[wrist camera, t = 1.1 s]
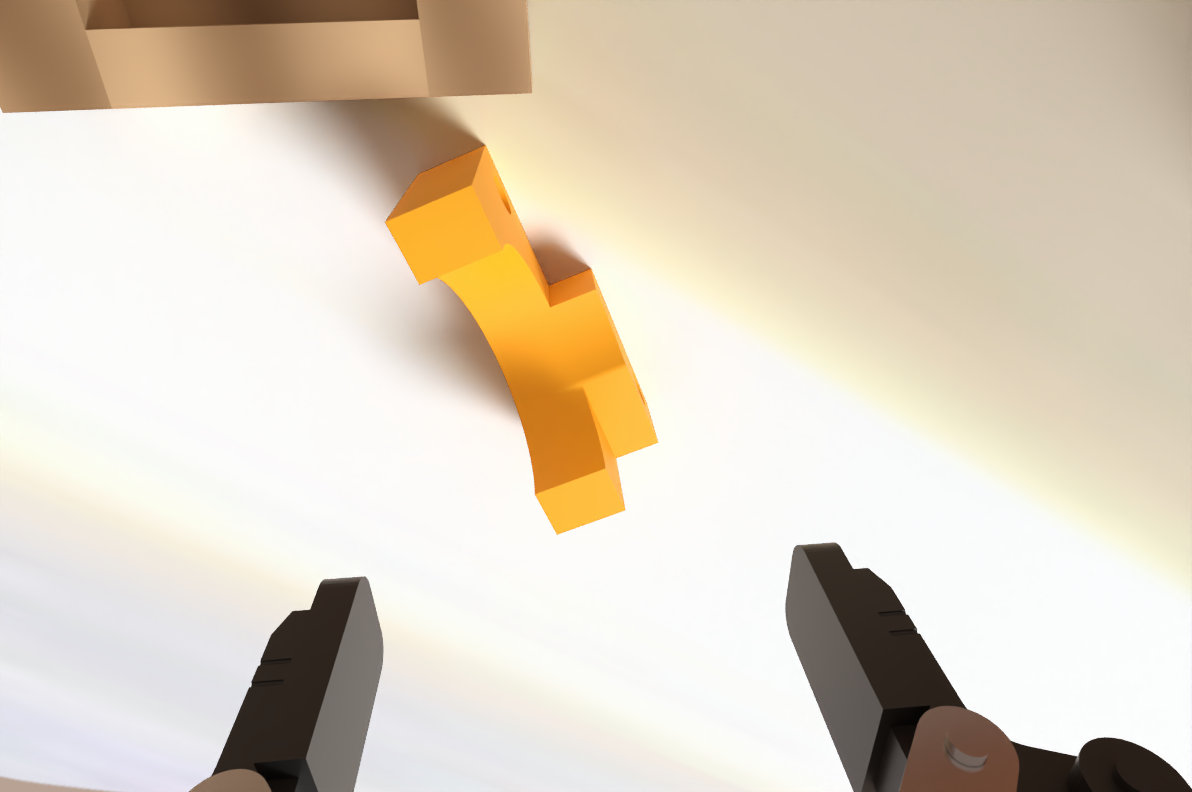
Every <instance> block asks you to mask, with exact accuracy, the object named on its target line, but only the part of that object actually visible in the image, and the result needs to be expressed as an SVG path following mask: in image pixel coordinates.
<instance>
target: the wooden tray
mask: <svg viewBox="0 0 1192 792" xmlns="http://www.w3.org/2000/svg"><path fill="white" fill-rule="evenodd" d="M522 93H532V74H531V59H530V44H529V28H528V13H527V0H0V107H1V110H2V112H3V113H12V112H39V111H66V110H92V109H119V108H146V107H173V106H200V105H226V104H253V103H280V102H307V101H334V100H361V99H387V98H414V97H441V96H468V95H495V94H522Z"/></svg>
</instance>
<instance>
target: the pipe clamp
mask: <svg viewBox="0 0 1192 792" xmlns="http://www.w3.org/2000/svg"><path fill="white" fill-rule="evenodd" d="M385 223H386V225H387V227H388V228H389V230H390V232H391V234H392V236H393V237H394V239H395V241H396V243H397V245H398V247H399V248H400V250H401V252H402V254H403V256H404V257H405V259H406V261H407V263H408V265H409V267H410V268H411V270H412V272H413V274H414V276H415V277H416V279H417V281H418V283H419V285H420V284H422V283H425V282H427V281H430V280H432V279H435V278H439V279H440V280H442V281H444V282H445V283H446V284H447V285H448V286H449V287H450V288H452V289H453V290H454V292H455V293H456V294H457V295H458V296H459V297H460V299H461V300H462V301H463V302H464V304H465V305H466V306H467V308H468V309H469V311H470V312H471V314H472V315H473V317H474V318H475V320H476V321H477V323H478V325H479V326H480V328H481V330H482V332H483V333H484V335H485V337H486V339H487V341H488V343H489V345H490V346H491V348H492V350H493V352H494V354H495V357H496V359H497V361H498V363H499V365H500V367H501V369H502V372H503V374H504V376H505V379H506V381H507V384H508V386H509V389H510V391H511V394H512V396H513V399H514V402H515V405H516V408H517V410H518V413H519V416H520V420H521V423H522V426H523V429H524V433H525V436H526V440H527V444H528V448H529V453H530V457H531V463H532V468H533V475H534V485H535V495H536V497H537V499H538V501H539V503H540V504H541V506H542V508H543V510H544V512H545V514H546V515H547V517H548V519H549V521H550V523H551V524H552V526H553V528H554V530H555V532H556V534H557V535H558V534H560V533H563V532H566V531H569V530H571V529H574V528H577V527H580V526H583V525H585V524H588V523H591V522H594V521H597V520H599V519H602V518H605V517H608V516H610V515H613V514H616V513H619V512H622V511H624V510H625V505H624V500H623V494H622V489H621V483H620V478H619V472H618V467H617V462H616V458H618V457H620V456H623V455H626V454H629V453H631V452H634V451H637V450H639V449H642V448H645V447H648V446H650V445H653V444H656V443H658V440H657V437H656V433H655V430H654V426H653V423H652V419H651V416H650V413H649V409H648V406H647V403H646V400H645V398H644V395H643V393H642V390H641V388H640V386H639V383H638V381H637V378H636V376H635V373H634V371H633V369H632V366H631V364H630V361H629V359H628V356H627V354H626V352H625V349H624V347H623V344H622V342H621V339H620V337H619V335H618V332H617V330H616V327H615V325H614V322H613V320H612V318H611V315H610V313H609V310H608V308H607V305H606V303H605V301H604V298H603V296H602V293H601V291H600V288H599V286H598V284H597V281H596V279H595V276H594V274H593V271H592V269H589V270H586V271H584V272H581V273H579V274H576V275H574V276H571V277H569V278H566V279H564V280H562V281H559V282H557V283H554V284H552V285H548V283H547V280H546V278H545V276H544V274H543V271H542V269H541V267H540V265H539V263H538V260H537V258H536V256H535V254H534V251H533V249H532V247H531V245H530V243H529V240H528V238H527V236H526V234H525V231H524V229H523V227H522V225H521V223H520V220H519V218H518V216H517V214H516V211H515V209H514V207H513V205H512V203H511V200H510V198H509V196H508V194H507V191H506V189H505V187H504V185H503V183H502V180H501V178H500V176H499V174H498V171H497V169H496V167H495V165H494V163H493V160H492V158H491V156H490V154H489V151H488V149H487V147H486V145H485V146H482V147H480V148H478V149H475V150H473V151H471V152H468V153H466V154H464V155H461V156H459V157H457V158H455V159H452V160H450V161H448V162H445V163H443V164H441V165H438V166H436V167H434V168H431V169H429V170H427V171H424V172H422V173H420V174H418V175H417V177H416V178H415V180H414V181H413V182H412V184H411V185H410V187H409V188H408V190H407V191H406V193H405V194H404V195H403V197H402V198H401V200H400V201H399V203H398V204H397V205H396V207H395V208H394V210H393V211H392V213H391V214H390V216H389V217H388V218H387V220H386V221H385Z"/></svg>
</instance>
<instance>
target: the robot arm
mask: <svg viewBox="0 0 1192 792" xmlns="http://www.w3.org/2000/svg"><path fill="white" fill-rule="evenodd" d="M785 609H786V620H787V626H788V630H789V634H790V637H791V639H792V642H793V644H794V647H795V649H796V652H797V654H798V657H799V659H800V661H801V664H802V666H803V669H804V671H805V674H806V676H807V679H808V681H809V683H810V686H811V688H812V691H813V693H814V696H815V698H816V701H817V703H818V705H819V708H820V710H821V713H822V715H823V718H824V720H825V723H826V725H827V727H828V730H829V732H830V735H831V737H832V740H833V742H834V745H835V747H836V749H837V752H838V754H839V757H840V759H841V762H842V764H843V767H844V769H845V771H846V774H847V776H848V779H849V781H850V784H851V786H852V789H853V791H854V792H1192V789H1191V787H1190V786H1189V785H1188V784H1187V782H1186V781H1185V780H1184V779H1183V778H1182V776H1181V775H1180V774H1179V773H1178V772H1177V771H1176V770H1175V769H1174V768H1173V767H1172V766H1171V765H1170V764H1168V763H1167V762H1166V761H1164V760H1163V759H1162V758H1160V757H1159V756H1157V755H1156V754H1154V753H1153V752H1151V751H1149V750H1147V749H1145V748H1143V747H1142V746H1139V745H1137V744H1134V743H1132V742H1129V741H1125V740H1122V739H1116V738H1105V737H1104V738H1097V739H1094V740H1091V741H1089V742H1087V743H1086V744H1085V745H1084V746H1083V747H1082V749H1081V751H1080V753H1079V755H1078V757H1077V756H1072V755H1067V754H1063V753H1058V752H1053V751H1048V750H1043V749H1038V748H1034V747H1029V746H1025V745H1021V744H1018V743H1015V742H1012V741H1010V740H1009V738H1008V737H1007V736H1006V735H1005V733H1004V732H1003V731H1002V730H1001V729H999V728H998V727H997V726H996V725H995V724H994V723H992V722H991V721H990V720H988V719H987V718H985V717H983V716H982V715H980V714H978V713H975V712H973V711H971V710H968V709H967V708H966V707H965V706H964V704H963V703H962V701H961V700H960V698H959V696H958V695H957V693H956V691H955V690H954V688H953V687H952V685H951V683H950V682H949V680H948V679H947V677H946V675H945V674H944V672H943V670H942V669H941V667H940V666H939V664H938V662H937V661H936V659H935V658H934V656H933V654H932V653H931V651H930V649H929V648H928V646H927V645H926V643H925V641H924V640H923V638H922V636H921V635H920V634H918V633H917V628H916V627H915V625H914V624H913V622H912V620H911V619H910V617H909V615H906V613H905V609H904V607H903V606H902V604H901V603H900V601H899V599H898V598H897V596H896V594H895V593H894V591H893V590H892V588H891V587H890V586H889V585H888V584H887V583H885V582H884V581H883V580H882V579H881V578H879V577H878V576H877V575H876V574H874V573H873V572H872V571H871V570H870V569H868V568H863V569H853V568H852V566H851V564H850V563H849V561H848V559H847V557H846V556H845V554H844V552H843V550H842V549H841V547H840V546H839V545H838V544H837V543H822V544H808V545H797V546H796V547H795V548H794V551H793V555H792V562H791V569H790V576H789V583H788V590H787V597H786V608H785ZM382 663H383V638H382V632H381V628H380V624H379V620H378V616H377V612H376V608H375V604H374V600H373V596H372V592H371V588H370V584H369V581H368V579H367V578H366V577H352V578H338V579H325V580H323V581H322V582H321V583H320V585H319V588H318V590H317V593H316V596H315V598H314V601H313V604H312V606H311V609H310V610H302V611H292V612H291V614H290V615H289V616H288V617H287V618H286V619H285V620H284V621H283V622H282V623H281V625H280V626H279V627H278V628H277V629H276V630H275V631H274V632H273V633H272V635H271V637H270V639H269V641H268V644H267V646H266V649H265V651H264V653H263V656H262V658H261V664H260V666H258V668H257V670H256V673H255V675H254V677H253V680H252V686H251V687H249V689H248V692H247V694H246V696H245V699H244V701H243V704H242V706H241V708H240V711H239V713H238V715H237V718H236V720H235V723H234V725H233V727H232V730H231V732H230V735H229V737H228V739H227V742H226V744H225V747H224V749H223V751H222V754H221V756H220V758H219V761H218V763H217V766H216V768H215V770H214V772H213V774H212V776H211V777H209V778H207V779H206V780H204V781H202V782H201V783H199V784H198V785H196V786H195V787H194V788H193V789H191V790H190V791H189V792H354V787H355V783H356V779H357V774H358V770H359V766H360V761H361V757H362V752H363V748H364V744H365V739H366V735H367V731H368V726H369V722H370V718H371V713H372V709H373V705H374V700H375V696H376V692H377V687H378V683H379V679H380V674H381V670H382Z"/></svg>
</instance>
